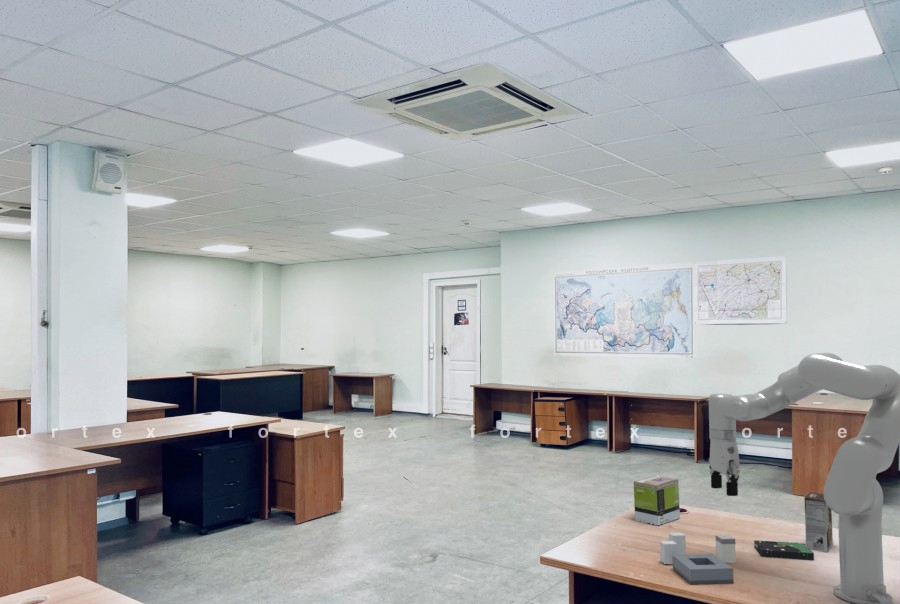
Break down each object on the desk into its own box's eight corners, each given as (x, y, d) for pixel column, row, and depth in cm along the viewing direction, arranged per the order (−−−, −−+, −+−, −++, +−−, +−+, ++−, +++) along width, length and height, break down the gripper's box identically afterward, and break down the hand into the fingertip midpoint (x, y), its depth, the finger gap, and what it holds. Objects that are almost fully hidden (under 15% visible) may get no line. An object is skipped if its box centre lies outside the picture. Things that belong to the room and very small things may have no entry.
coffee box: (811, 541, 214) (809, 491, 215) (833, 545, 210) (831, 494, 211) (805, 548, 207) (803, 497, 208) (828, 552, 203) (826, 500, 204)
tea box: (656, 513, 249) (655, 474, 250) (680, 519, 241) (679, 478, 242) (633, 520, 239) (633, 480, 240) (658, 526, 232) (657, 484, 233)
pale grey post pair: (697, 564, 193) (696, 543, 193) (664, 565, 192) (664, 544, 192) (681, 552, 204) (681, 532, 204) (650, 552, 203) (650, 533, 203)
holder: (733, 583, 177) (733, 568, 178) (690, 584, 177) (690, 569, 177) (712, 567, 189) (712, 553, 190) (672, 569, 189) (672, 554, 189)
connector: (736, 562, 194) (735, 538, 194) (722, 563, 194) (722, 539, 194) (729, 558, 198) (728, 534, 198) (716, 558, 198) (715, 534, 198)
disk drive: (761, 559, 199) (815, 562, 196) (761, 550, 199) (814, 552, 196) (753, 548, 209) (804, 551, 206) (753, 539, 209) (803, 542, 206)
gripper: (749, 438, 190) (751, 498, 189) (721, 430, 207) (722, 485, 206) (724, 439, 189) (726, 499, 188) (698, 430, 207) (699, 485, 206)
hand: (724, 491), depth 197 cm, fingers open, 9 cm apart
